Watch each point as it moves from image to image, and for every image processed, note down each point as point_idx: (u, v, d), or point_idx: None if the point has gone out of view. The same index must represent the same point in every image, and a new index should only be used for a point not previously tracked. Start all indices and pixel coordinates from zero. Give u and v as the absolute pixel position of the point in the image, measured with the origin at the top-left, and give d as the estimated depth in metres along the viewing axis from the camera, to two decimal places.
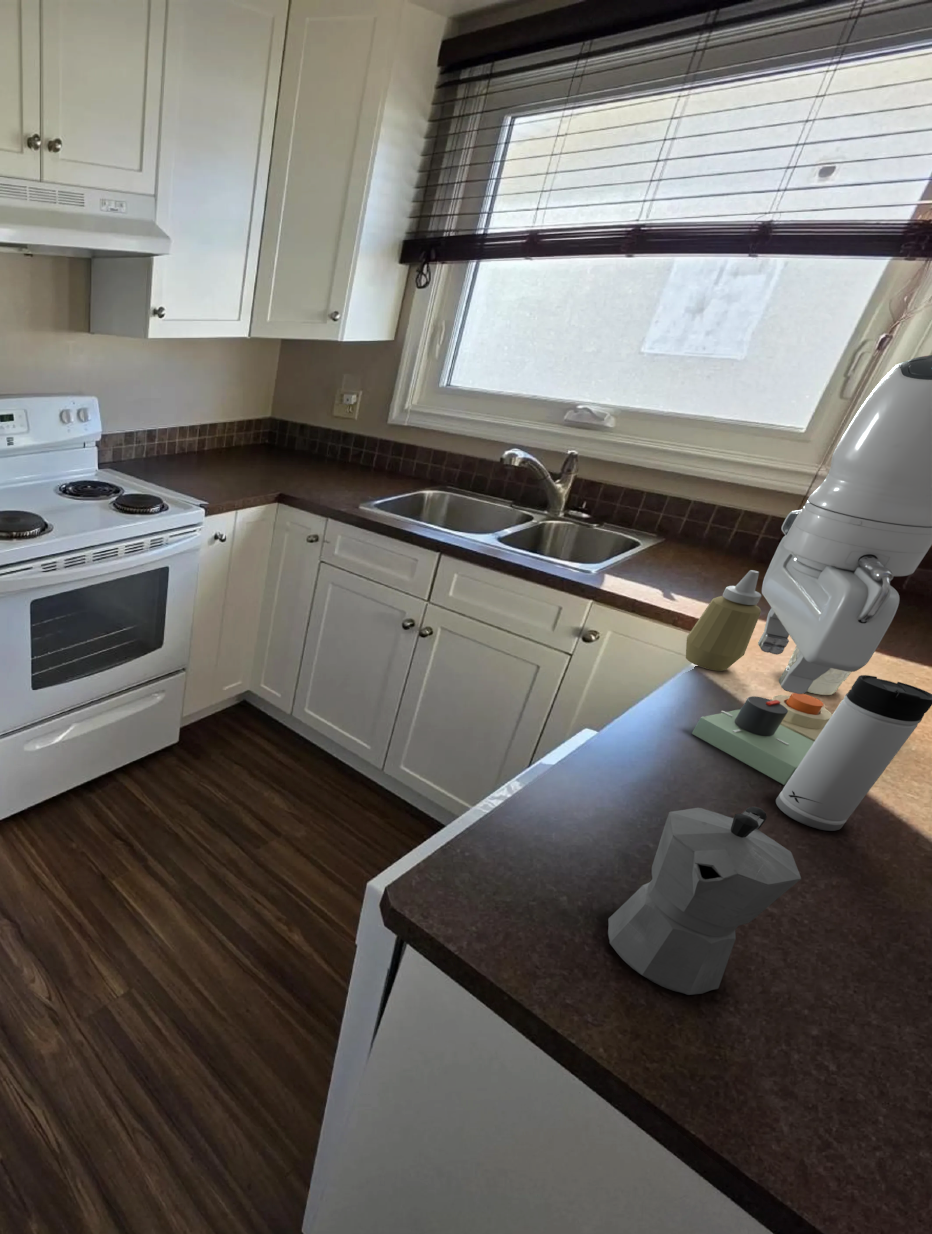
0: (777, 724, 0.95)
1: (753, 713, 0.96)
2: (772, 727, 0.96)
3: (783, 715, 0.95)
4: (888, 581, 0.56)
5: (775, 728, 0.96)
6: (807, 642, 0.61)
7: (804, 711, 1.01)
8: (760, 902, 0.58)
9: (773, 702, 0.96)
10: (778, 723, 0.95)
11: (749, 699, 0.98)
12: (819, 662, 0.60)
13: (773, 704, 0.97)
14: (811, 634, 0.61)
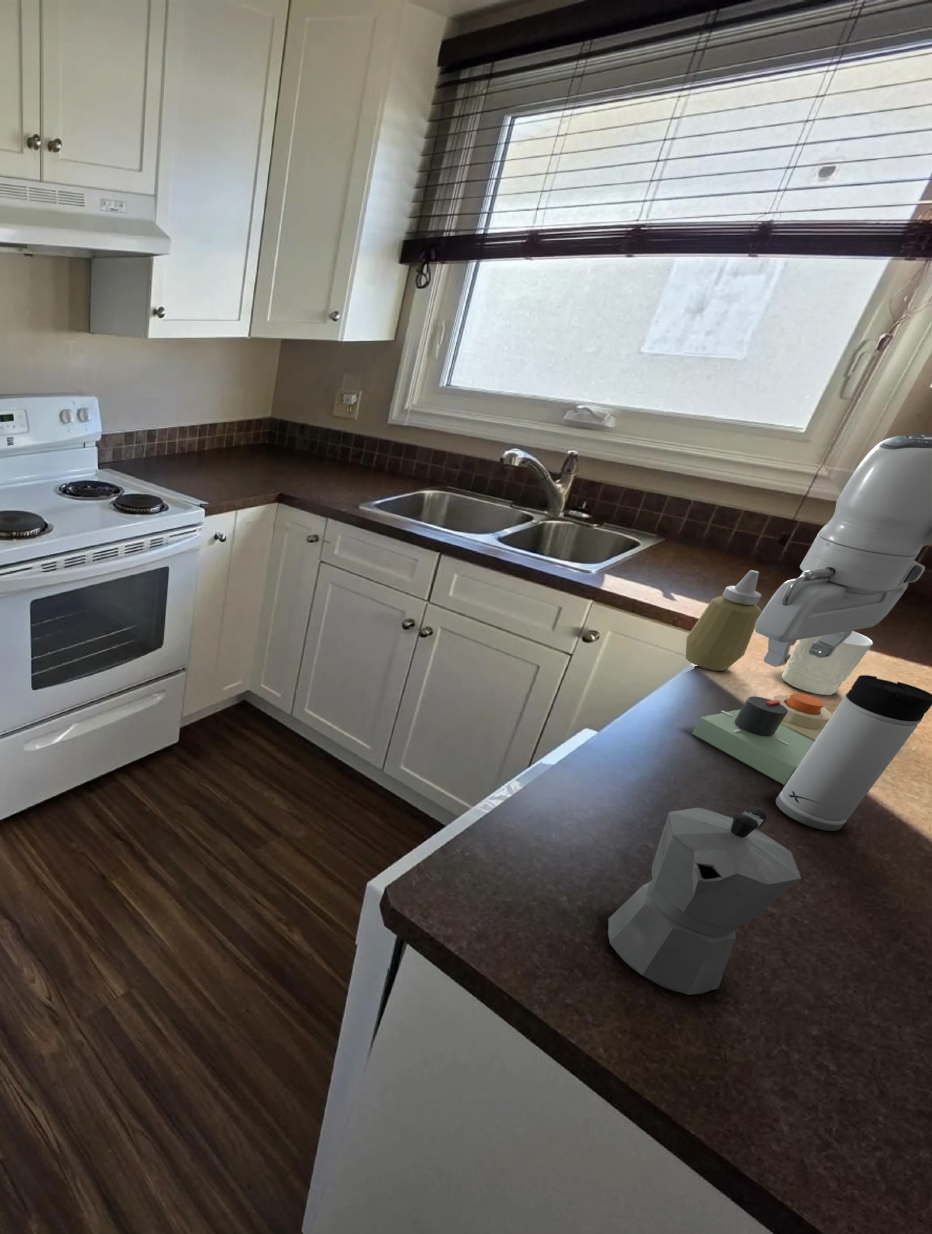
0: (777, 724, 0.95)
1: (753, 713, 0.96)
2: (772, 727, 0.96)
3: (783, 715, 0.95)
4: (801, 577, 0.83)
5: (775, 728, 0.96)
6: None
7: (804, 711, 1.01)
8: (760, 902, 0.58)
9: (773, 702, 0.96)
10: (778, 723, 0.95)
11: (749, 699, 0.98)
12: (758, 631, 0.87)
13: (773, 704, 0.97)
14: None
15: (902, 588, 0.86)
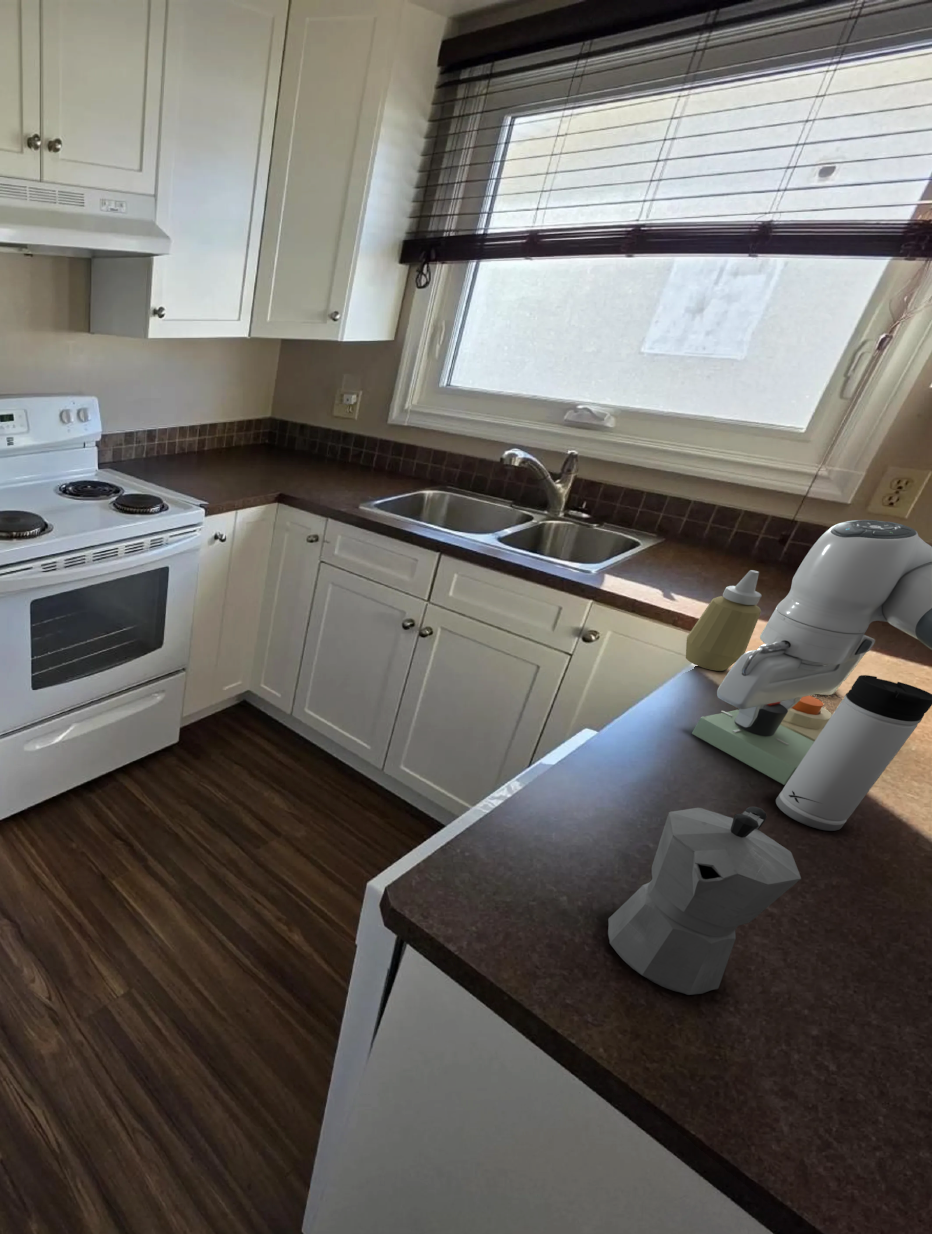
0: (777, 724, 0.95)
1: None
2: (772, 727, 0.96)
3: (783, 715, 0.95)
4: (758, 650, 0.89)
5: (775, 728, 0.96)
6: None
7: (804, 711, 1.01)
8: (760, 902, 0.58)
9: None
10: (778, 723, 0.95)
11: None
12: (720, 697, 0.94)
13: (773, 704, 0.97)
14: None
15: (855, 658, 0.93)
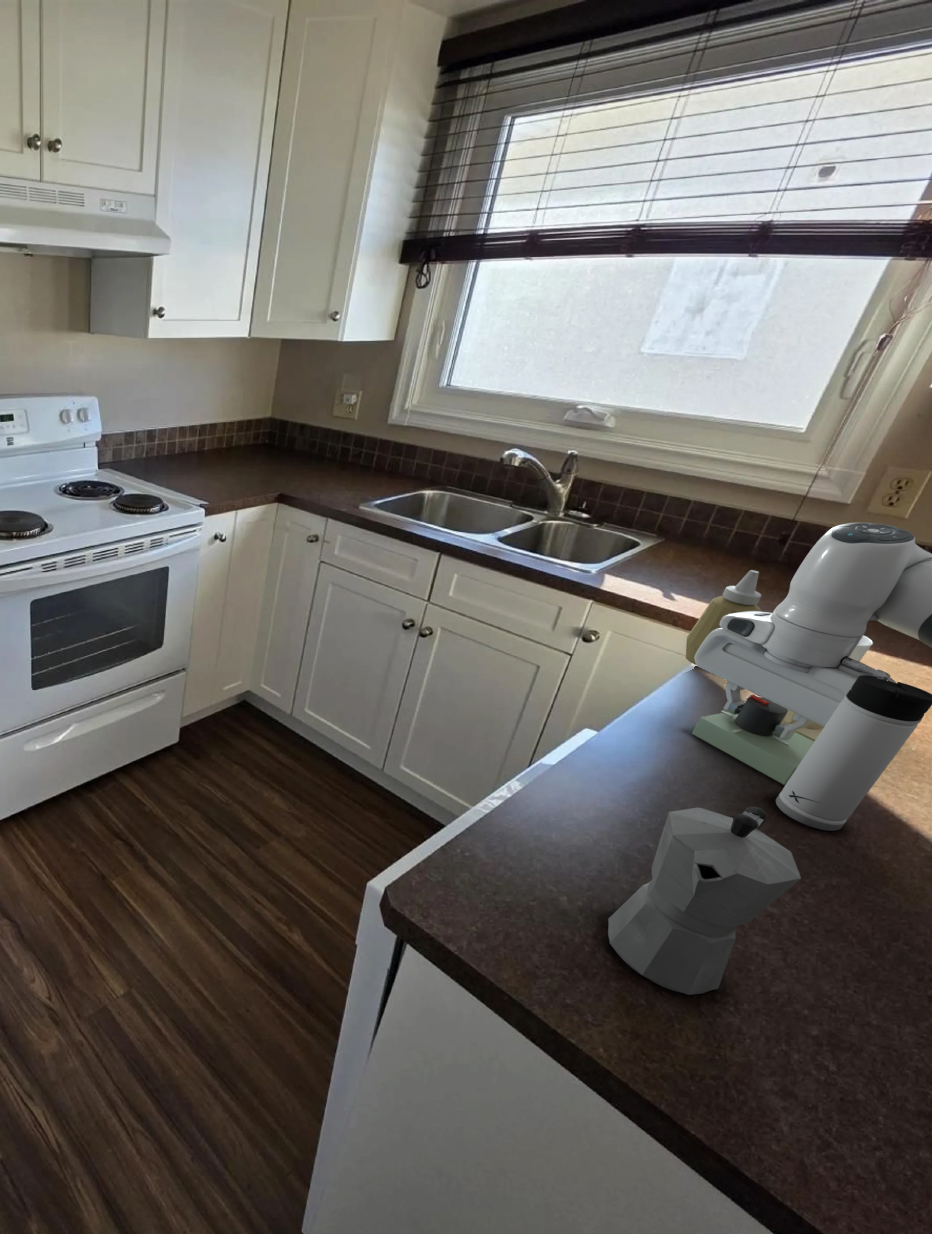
0: None
1: (780, 719, 0.95)
2: None
3: None
4: None
5: None
6: None
7: None
8: (760, 902, 0.58)
9: (763, 699, 0.97)
10: None
11: (767, 710, 0.95)
12: None
13: None
14: None
15: None
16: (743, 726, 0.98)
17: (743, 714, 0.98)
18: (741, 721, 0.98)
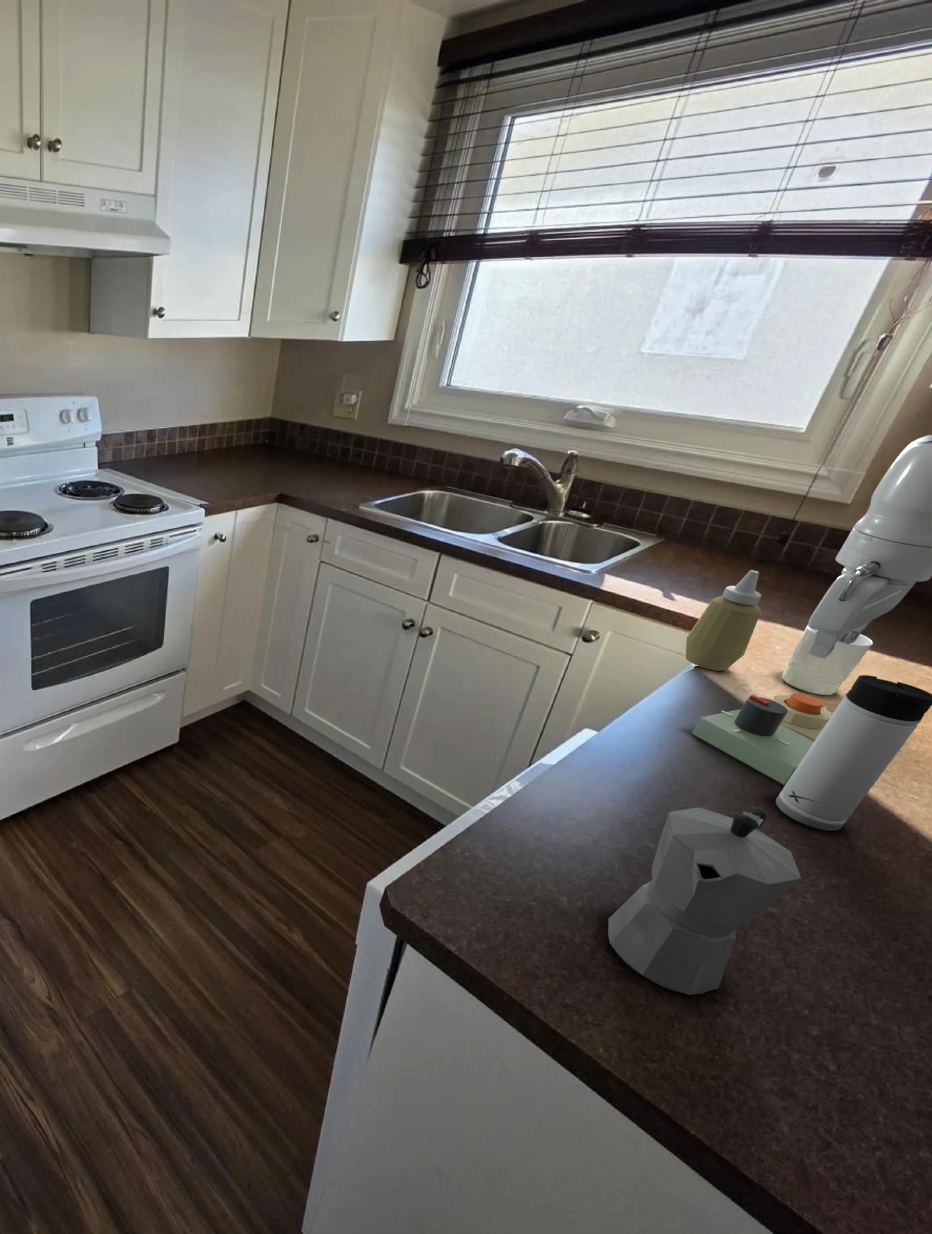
0: None
1: (780, 719, 0.95)
2: None
3: None
4: (858, 573, 0.85)
5: None
6: None
7: (804, 711, 1.01)
8: (760, 902, 0.58)
9: (763, 699, 0.97)
10: None
11: (767, 710, 0.95)
12: (813, 627, 0.90)
13: None
14: None
15: None
16: (743, 726, 0.98)
17: (743, 714, 0.98)
18: (741, 721, 0.98)
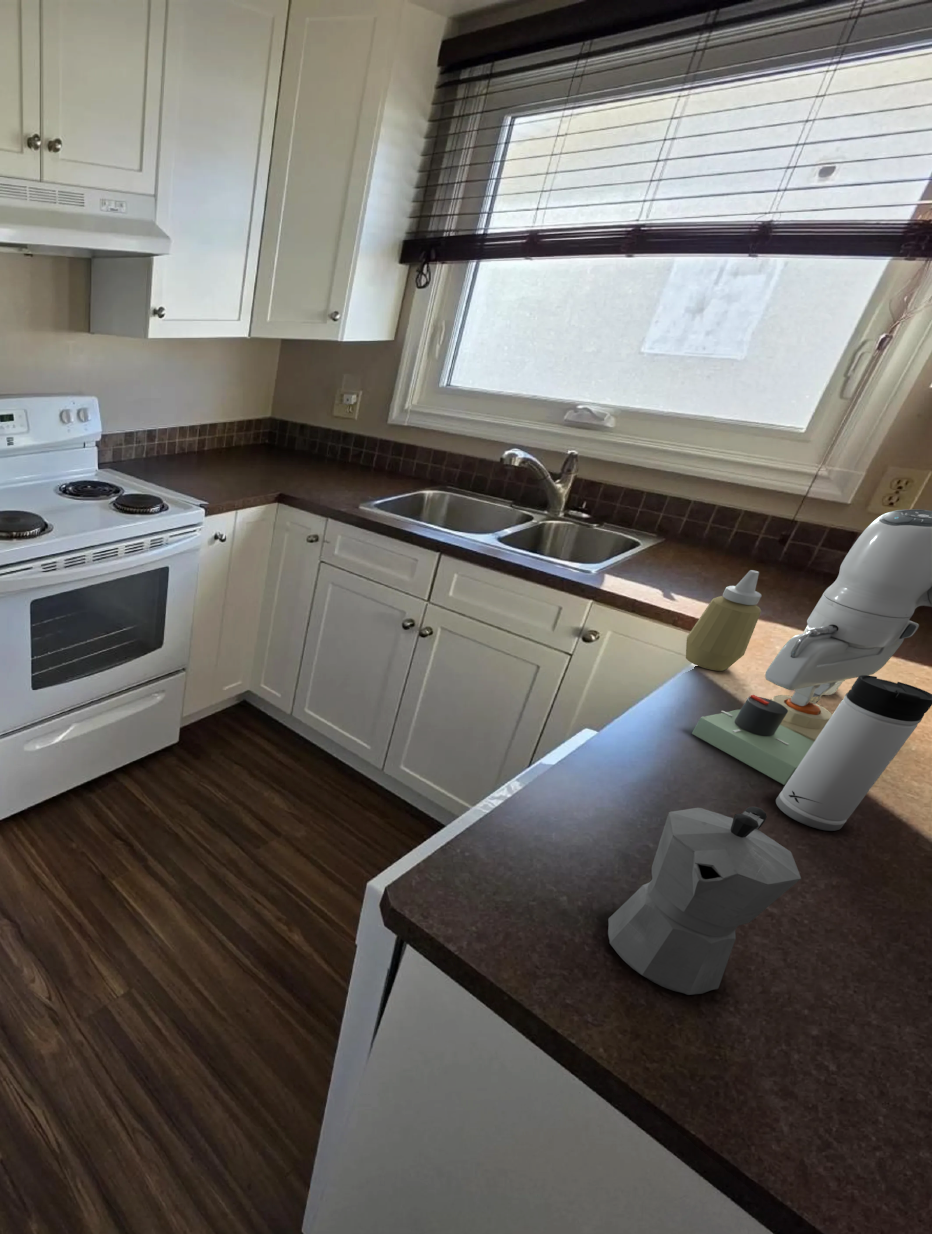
0: None
1: (780, 719, 0.95)
2: None
3: None
4: (807, 633, 0.93)
5: None
6: None
7: None
8: (760, 902, 0.58)
9: (763, 699, 0.97)
10: None
11: (767, 710, 0.95)
12: (769, 679, 0.98)
13: None
14: None
15: (898, 642, 0.97)
16: (743, 726, 0.98)
17: (743, 714, 0.98)
18: (741, 721, 0.98)
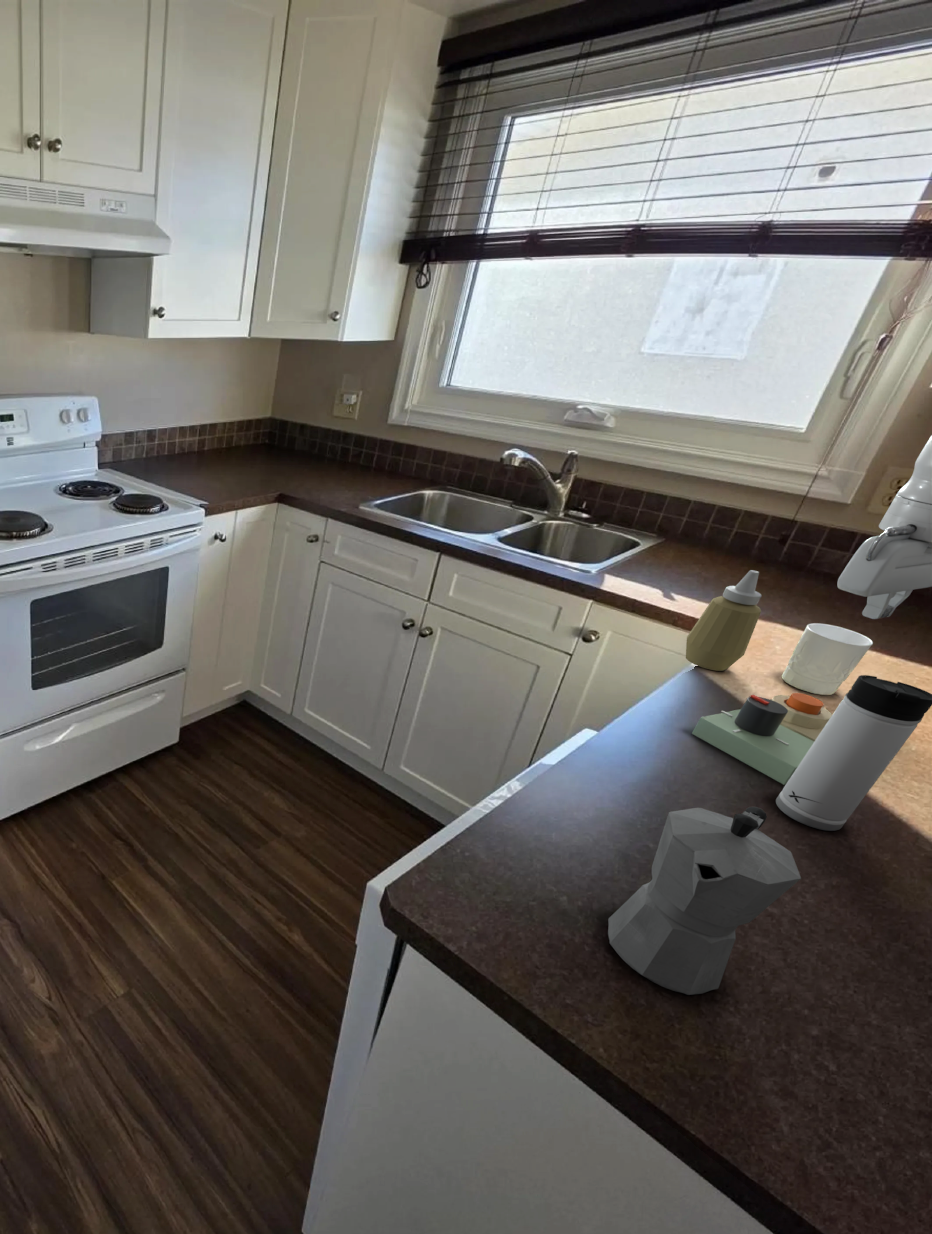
0: None
1: (780, 719, 0.95)
2: None
3: None
4: (885, 532, 0.87)
5: None
6: None
7: (804, 711, 1.01)
8: (760, 902, 0.58)
9: (763, 699, 0.97)
10: None
11: (767, 710, 0.95)
12: (841, 587, 0.92)
13: None
14: None
15: None
16: (743, 726, 0.98)
17: (743, 714, 0.98)
18: (741, 721, 0.98)
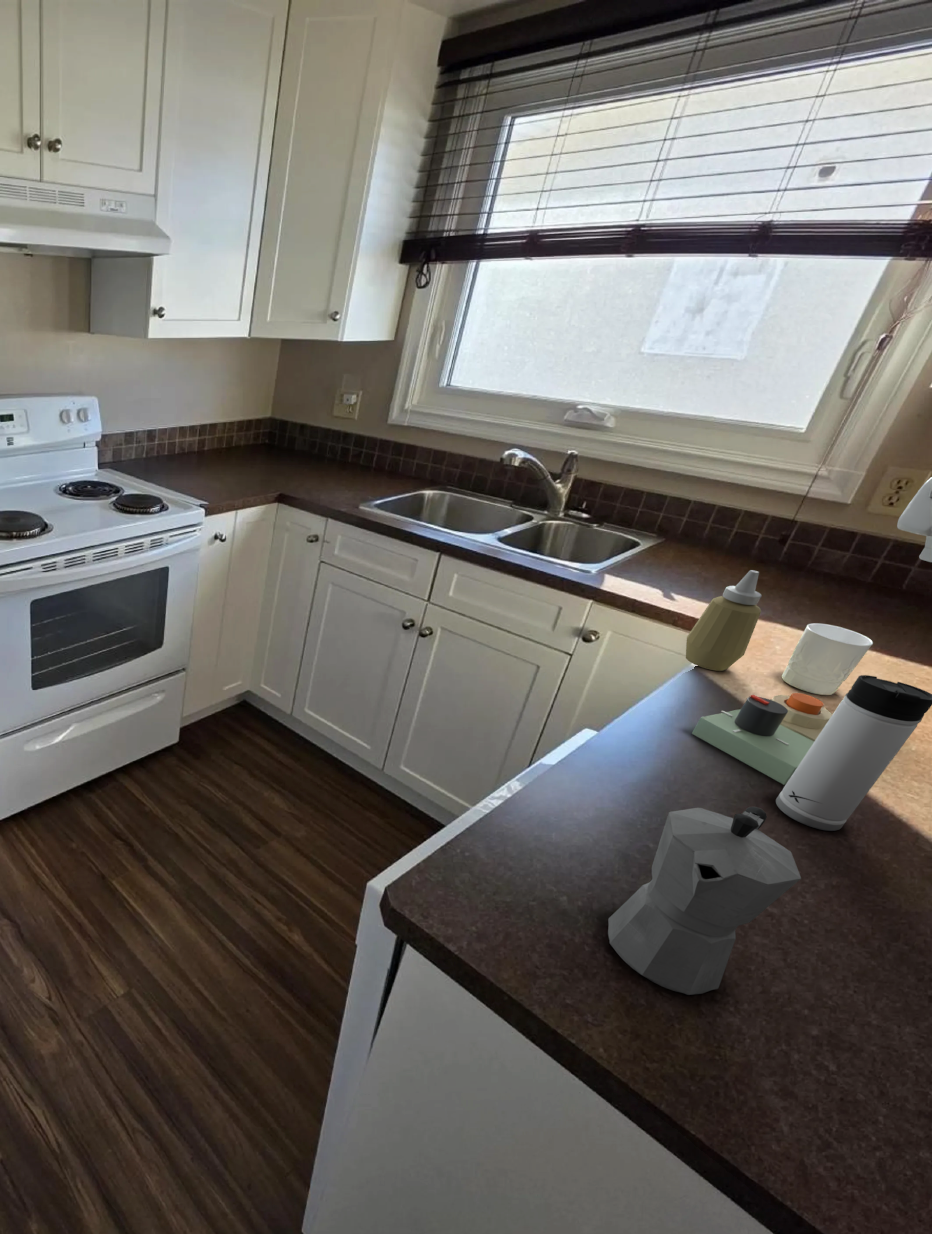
0: None
1: (780, 719, 0.95)
2: None
3: None
4: None
5: None
6: None
7: (804, 711, 1.01)
8: (760, 902, 0.58)
9: (763, 699, 0.97)
10: None
11: (767, 710, 0.95)
12: (902, 527, 0.90)
13: None
14: None
15: None
16: (743, 726, 0.98)
17: (743, 714, 0.98)
18: (741, 721, 0.98)
